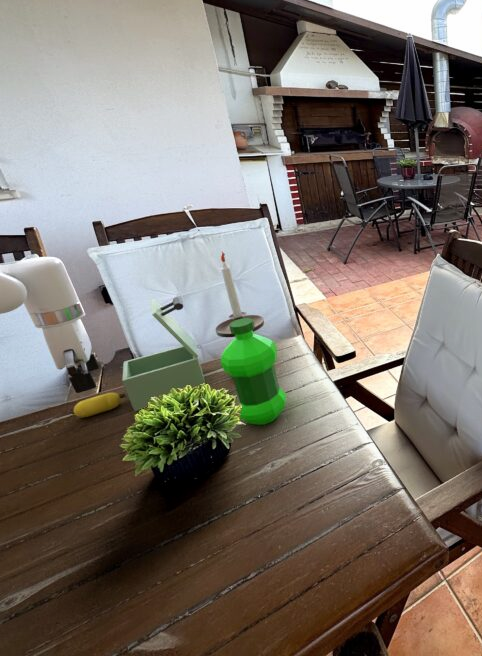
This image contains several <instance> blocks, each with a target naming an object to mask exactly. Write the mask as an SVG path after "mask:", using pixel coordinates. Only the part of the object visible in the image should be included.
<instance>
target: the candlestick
mask: <svg viewBox="0 0 482 656" xmlns="http://www.w3.org/2000/svg"><path fill="white" fill-rule="evenodd" d="M225 255H226V254H225V253H224V251H221V256H220V260H221V262H222V267H221V268H220V270H221V274H222V278H223V281H224V282H223V283H224V286H225V289H226V294H227V297H228V301H229V304H230V308H231V312H232V313H231V314H230V315H229V316H228V318H229V319H227V320H224V321H223V322H221V323H219V324H218V325H217V326H216V327H215V334H216V335H217V336H218V337H220V338H236V337H235V335H234V334H232V333H231V330H230V326H229V325H230V323H231V322H233V321H235V320H238V319H242V318H251V319H253V322H254V326H255V327H254V330H253V333H254V332H257V331H258V330H260V329H261V328H262V327H263V326H264V325H265V321H264V317H263V316H261V315H256V314H247V312H245V311H242V309H241V305H240V302H239V298H238V293H237V291H236V286H235V282H234V278H233V274H232V270H231V267H230V266H228V265H227V262H226V257H225Z"/></svg>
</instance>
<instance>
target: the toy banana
mask: <svg viewBox="0 0 482 656" xmlns="http://www.w3.org/2000/svg"><path fill="white" fill-rule="evenodd" d="M124 398H126V394H125V393H120V394H119V393H117V392H106V393H103V394H100V395H96V396H93V397H90V398H86V399H84V400H81V401H79V402H78V403H76V404H75V406H74V407H73V409H72V410H71V412H70V413H71V415H74V416H76V417H78V418H88V417H92V416H96V415H98V414H101V413H105V412H108V411H111V410H113V409H116V408H117V407H118V406H119V405H120V404H121V402H122V399H124Z"/></svg>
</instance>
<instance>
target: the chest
mask: <svg viewBox="0 0 482 656" xmlns="http://www.w3.org/2000/svg"><path fill="white" fill-rule="evenodd" d="M202 368H203V367H202V364H201V362H200V359H199V356H198V357H197V358H195V357H194V356H193V355H192V354H191V353H190V352H189V351H188V350H187V349H186V348H185V347H184V346H183V345H181V346H177V347H172V348H170V349H166V350H162V351H159V352H155V353H151V354H147V355H143V356H140V357H137V358H133V359H129V360H125V361H123V363H122V380H121V381H122V384H123V387H124V388H125V391H126V395H127V396H128V399H129V401H130V404H131V406H132V409H133V411H134V412H137V411H140V409H141V408H144V407H146V406H147V405H148V402H149V400H150V398H151V397H154V396H159V395H161V394H168V393H169V392H170V390H171V389H172V388H183V387H185V386H186V385H191V386H198V385H200V384H203V383H205V384H206V380H205V376H204V371H203V369H202ZM144 409H145V408H144ZM141 410H142V409H141Z"/></svg>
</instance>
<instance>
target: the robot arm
mask: <svg viewBox="0 0 482 656" xmlns="http://www.w3.org/2000/svg"><path fill="white" fill-rule="evenodd" d="M22 305H24V307H25V309H26V311H27V313H28V315H29V317H30V319H31V321H32V323H33V325H34V327H35V328H37V329H42V333H43V334H42V335H43V337H44V340H45V343H46V346H47V348H48V350H49V353H50V355H51V358H52V360H53V362H54V365H55V367H56V369H57V370H60V371H61V370H63V369H65V368H66V372H67V375H68V379H69V381H70V384H71V385H72V387H73V388H72V389H74V392H75V393H76V394H81V393H84V392H87V391H90V390H93V389H96V388H97V384H96V381H95V379H94V377H93V375H92V373H91V372H92V371H96V370H99V369H100V364H99V362H98V360H97V358H96V356H95V353H93V349H92V343H91V340H90V337H89V335H88V332H87V330H86V328H85V325H84V323H83V321H82V318H84V317H85V316H86V312H85V310H84V308H83V305H82V303H81V301H80V298H79V296H78V294H77V292H76V289H75V287H74V284H73V283H72V280H71V278H70V276H69V273H68V271H67V268H66V266H65V264H64V262H63V261H62V260H61V259H60V258H58V257H56V256H38V257H32V258H27V259H23V260H20V261H17V262H14V263H8V264H0V315H1V314H3V315H4V314H6V313H10V312H13V311H15V310H17V309H18V308H20V307H21V306H22Z"/></svg>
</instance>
